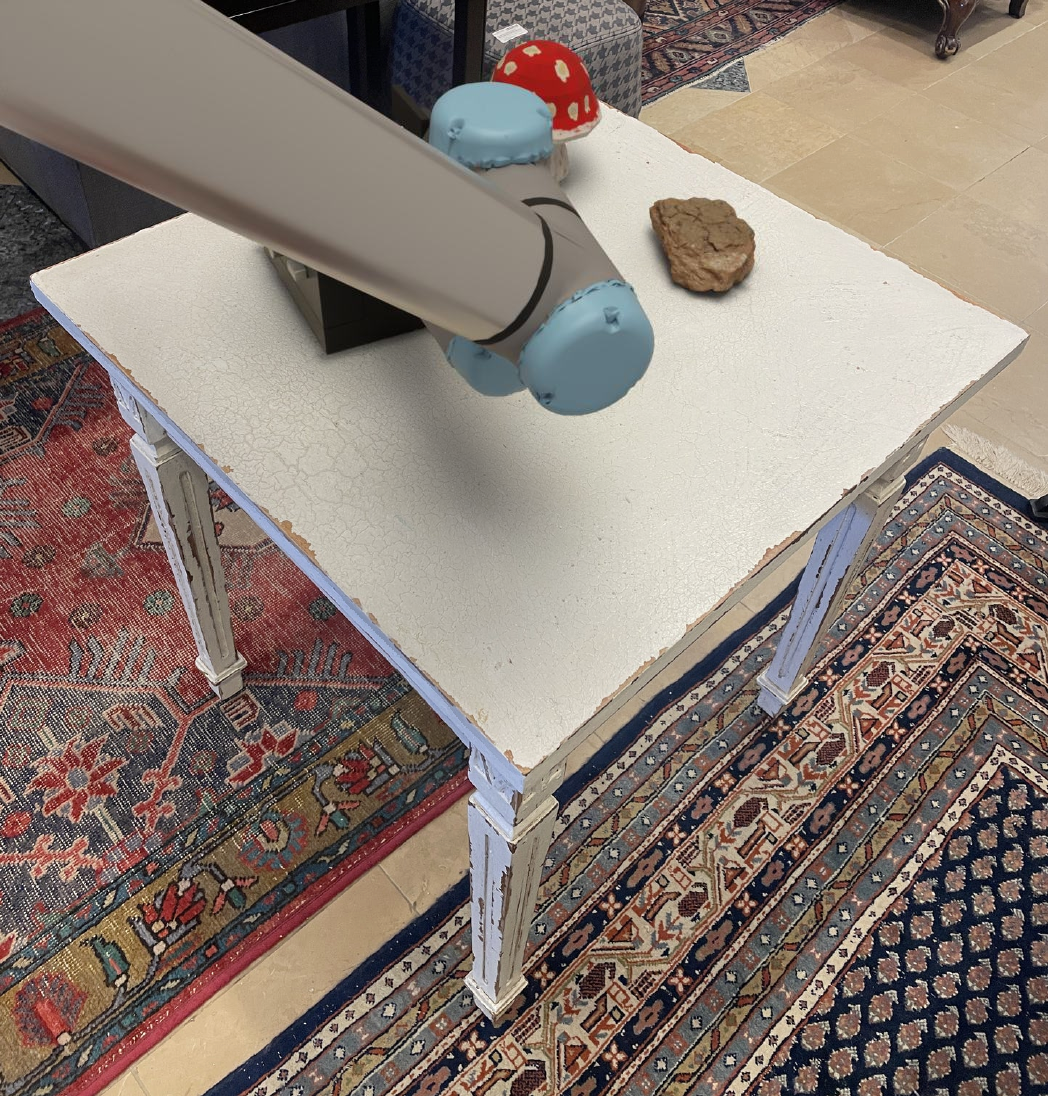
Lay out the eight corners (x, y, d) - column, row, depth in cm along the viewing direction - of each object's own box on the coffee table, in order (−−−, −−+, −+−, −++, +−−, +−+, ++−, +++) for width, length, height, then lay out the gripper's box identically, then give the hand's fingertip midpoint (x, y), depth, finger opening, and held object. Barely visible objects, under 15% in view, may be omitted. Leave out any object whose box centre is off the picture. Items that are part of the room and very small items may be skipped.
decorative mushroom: (488, 138, 116) (493, 6, 105) (601, 156, 116) (619, 26, 104) (462, 199, 108) (464, 63, 96) (583, 220, 107) (601, 86, 95)
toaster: (314, 358, 90) (302, 267, 82) (252, 252, 99) (236, 162, 91) (442, 323, 94) (443, 233, 86) (372, 225, 104) (366, 136, 96)
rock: (768, 302, 100) (782, 261, 96) (667, 303, 99) (676, 261, 95) (737, 229, 108) (748, 188, 104) (643, 229, 107) (651, 188, 103)
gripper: (275, 321, 73) (192, 179, 84) (560, 248, 81) (451, 128, 92) (261, 235, 67) (174, 93, 78) (569, 166, 75) (452, 47, 86)
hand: (324, 112), depth 85 cm, fingers open, 13 cm apart
